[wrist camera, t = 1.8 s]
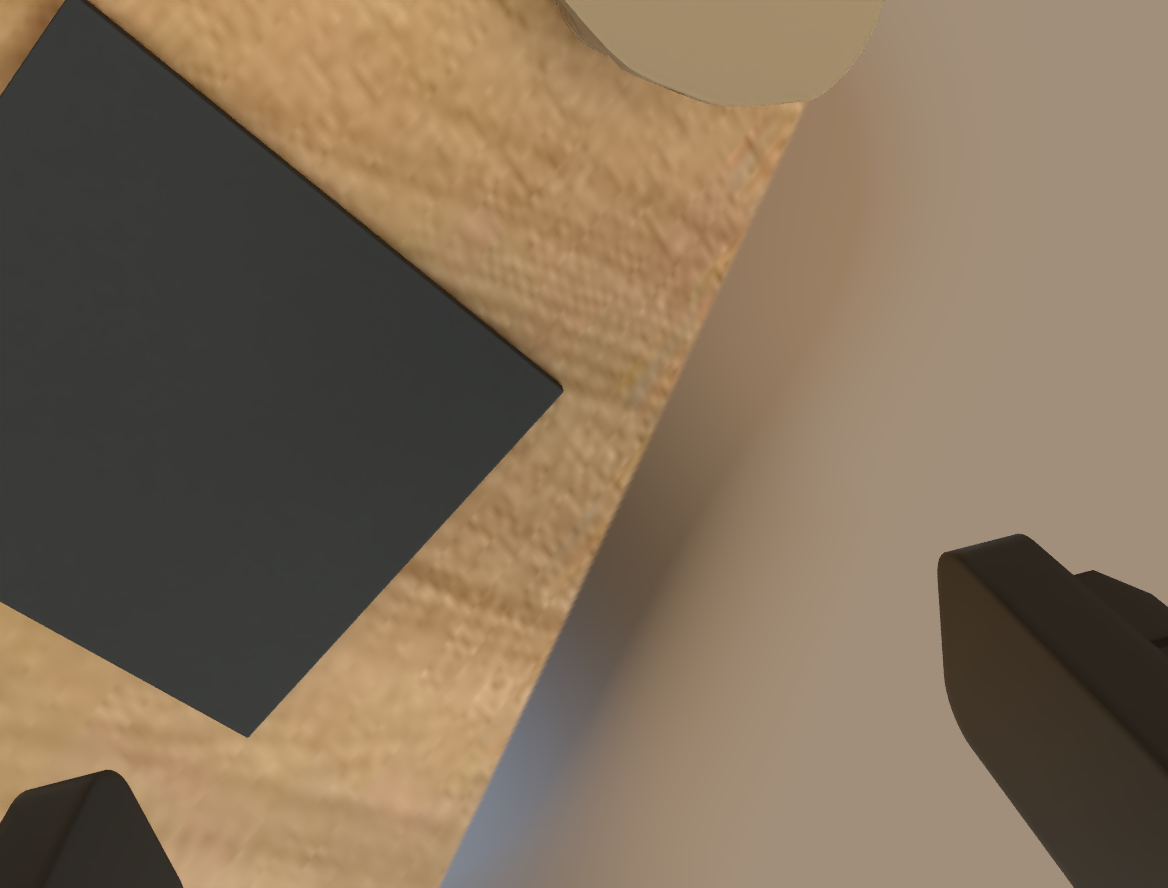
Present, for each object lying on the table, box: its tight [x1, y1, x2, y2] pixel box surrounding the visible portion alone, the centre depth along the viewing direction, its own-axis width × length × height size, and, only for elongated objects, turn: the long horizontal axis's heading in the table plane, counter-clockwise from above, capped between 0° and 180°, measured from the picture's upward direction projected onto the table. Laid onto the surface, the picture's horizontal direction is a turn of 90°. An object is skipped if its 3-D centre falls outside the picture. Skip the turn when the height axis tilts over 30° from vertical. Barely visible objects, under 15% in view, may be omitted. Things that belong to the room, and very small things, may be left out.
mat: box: [0, 0, 563, 738], centre depth 35 cm, size 20×20×1 cm
